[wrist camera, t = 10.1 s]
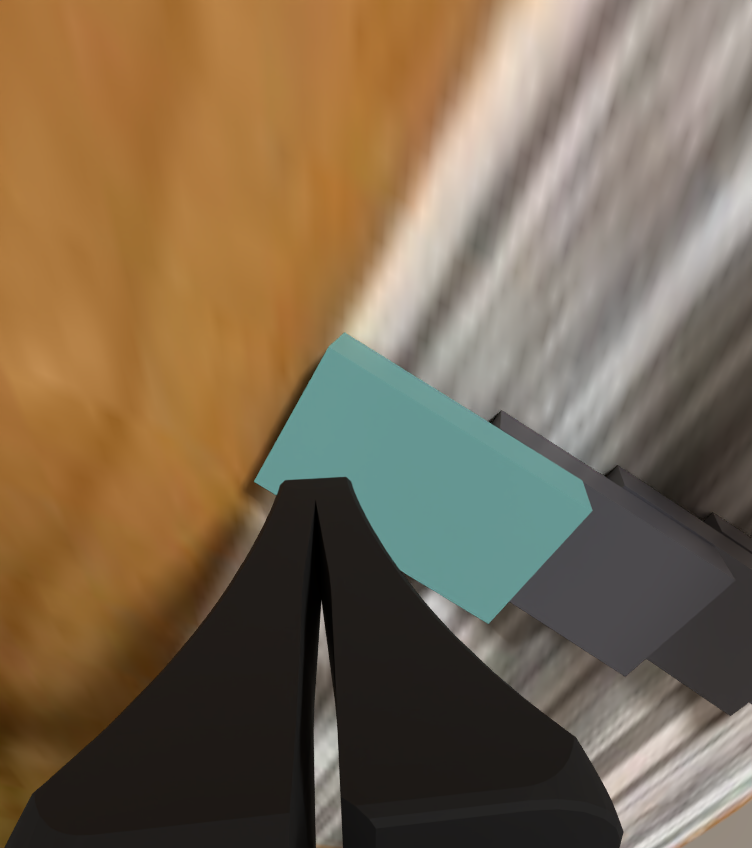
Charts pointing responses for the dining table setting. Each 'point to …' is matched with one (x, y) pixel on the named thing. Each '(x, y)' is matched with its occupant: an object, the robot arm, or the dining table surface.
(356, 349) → the tile
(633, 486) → the tile
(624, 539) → the tile
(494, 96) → the dining table surface
